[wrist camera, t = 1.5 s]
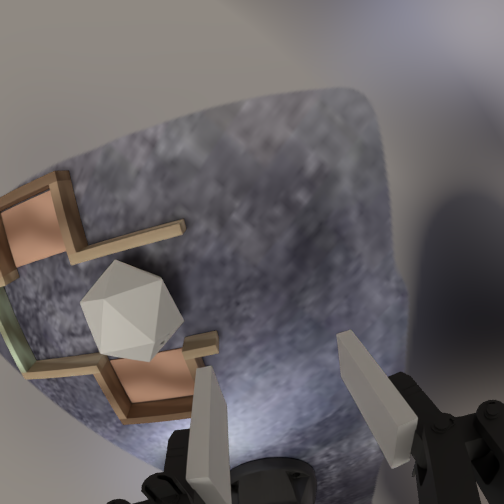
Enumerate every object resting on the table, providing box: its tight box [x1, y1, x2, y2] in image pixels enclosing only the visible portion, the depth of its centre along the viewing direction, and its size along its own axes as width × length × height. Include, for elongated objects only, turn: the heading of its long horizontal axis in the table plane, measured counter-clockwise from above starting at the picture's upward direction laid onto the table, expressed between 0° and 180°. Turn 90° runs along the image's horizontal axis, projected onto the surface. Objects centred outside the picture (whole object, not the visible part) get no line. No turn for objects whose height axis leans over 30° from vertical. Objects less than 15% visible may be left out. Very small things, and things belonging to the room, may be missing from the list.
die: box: [80, 260, 184, 362], centre depth 26 cm, size 8×9×10 cm
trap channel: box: [0, 171, 219, 425], centre depth 29 cm, size 29×26×3 cm
